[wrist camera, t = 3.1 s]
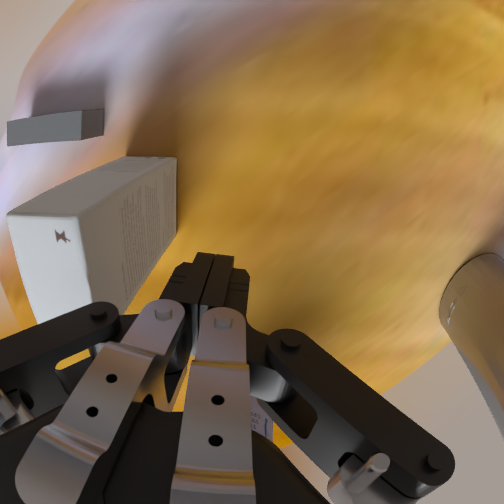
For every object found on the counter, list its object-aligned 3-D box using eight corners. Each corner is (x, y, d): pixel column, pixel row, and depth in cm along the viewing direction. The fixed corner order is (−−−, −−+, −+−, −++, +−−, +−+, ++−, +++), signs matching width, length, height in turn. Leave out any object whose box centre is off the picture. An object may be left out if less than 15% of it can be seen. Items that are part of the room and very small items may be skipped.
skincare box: (123, 155, 19) (2, 208, 8) (178, 156, 19) (79, 212, 8) (126, 232, 22) (36, 329, 11) (178, 237, 22) (107, 350, 11)
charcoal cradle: (104, 108, 18) (81, 110, 15) (109, 267, 23) (93, 285, 21) (30, 117, 18) (7, 121, 15) (43, 255, 23) (25, 270, 21)
